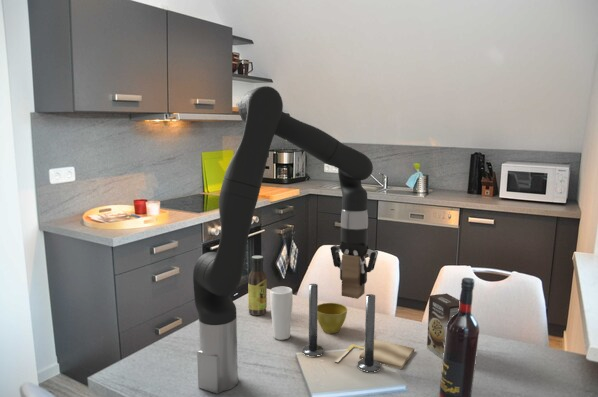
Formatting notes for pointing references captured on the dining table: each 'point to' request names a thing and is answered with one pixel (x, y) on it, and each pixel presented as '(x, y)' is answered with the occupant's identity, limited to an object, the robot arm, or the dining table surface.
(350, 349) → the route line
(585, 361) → the dining table surface
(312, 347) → the post left
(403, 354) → the pad
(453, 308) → the coffee box
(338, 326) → the flower pot
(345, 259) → the walnut block
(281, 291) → the drinking glass
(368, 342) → the post right
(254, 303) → the sauce bottle
